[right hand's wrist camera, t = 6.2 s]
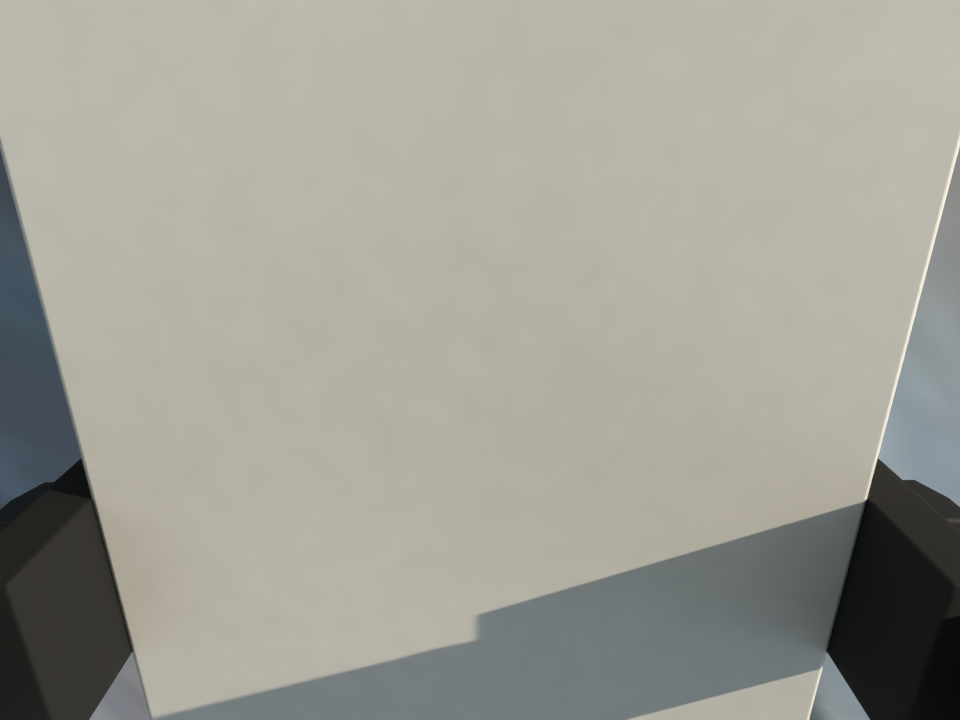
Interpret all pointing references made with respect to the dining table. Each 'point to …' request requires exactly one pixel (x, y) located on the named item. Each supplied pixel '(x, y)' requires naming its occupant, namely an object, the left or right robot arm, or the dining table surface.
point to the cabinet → (479, 335)
